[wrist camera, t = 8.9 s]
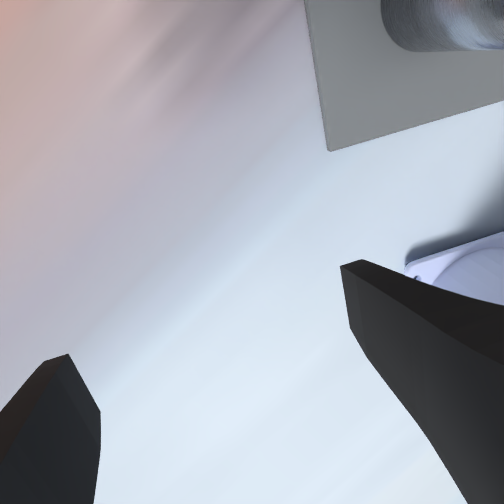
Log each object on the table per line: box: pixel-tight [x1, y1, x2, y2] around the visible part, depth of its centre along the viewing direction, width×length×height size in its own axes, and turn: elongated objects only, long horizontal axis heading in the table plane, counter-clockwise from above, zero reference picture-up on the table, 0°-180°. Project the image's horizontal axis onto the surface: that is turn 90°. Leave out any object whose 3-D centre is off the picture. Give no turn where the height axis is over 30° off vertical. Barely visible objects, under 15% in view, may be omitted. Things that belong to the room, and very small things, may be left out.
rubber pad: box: [304, 0, 504, 152], centre depth 18 cm, size 10×10×1 cm
